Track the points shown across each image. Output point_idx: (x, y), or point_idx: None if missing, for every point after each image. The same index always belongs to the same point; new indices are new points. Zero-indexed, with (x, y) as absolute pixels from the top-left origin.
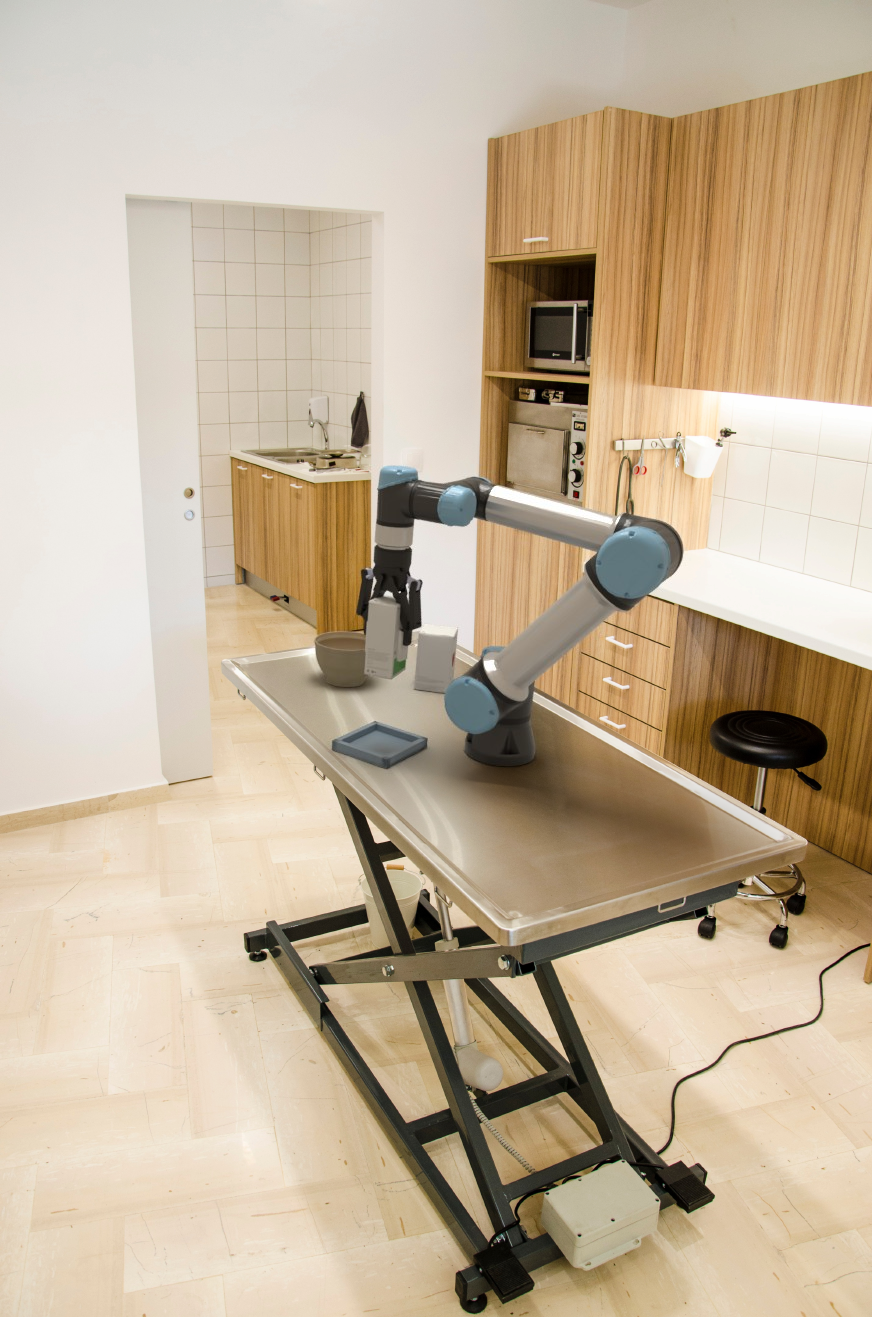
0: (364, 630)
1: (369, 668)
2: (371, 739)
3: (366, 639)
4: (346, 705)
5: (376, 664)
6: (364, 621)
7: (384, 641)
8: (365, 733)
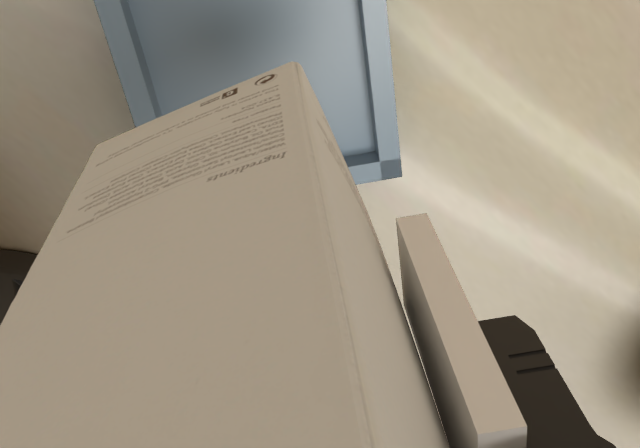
0: (529, 344)
1: (256, 91)
2: (322, 79)
3: (448, 279)
4: (603, 226)
5: (195, 128)
6: (583, 424)
7: (97, 283)
8: (369, 92)
